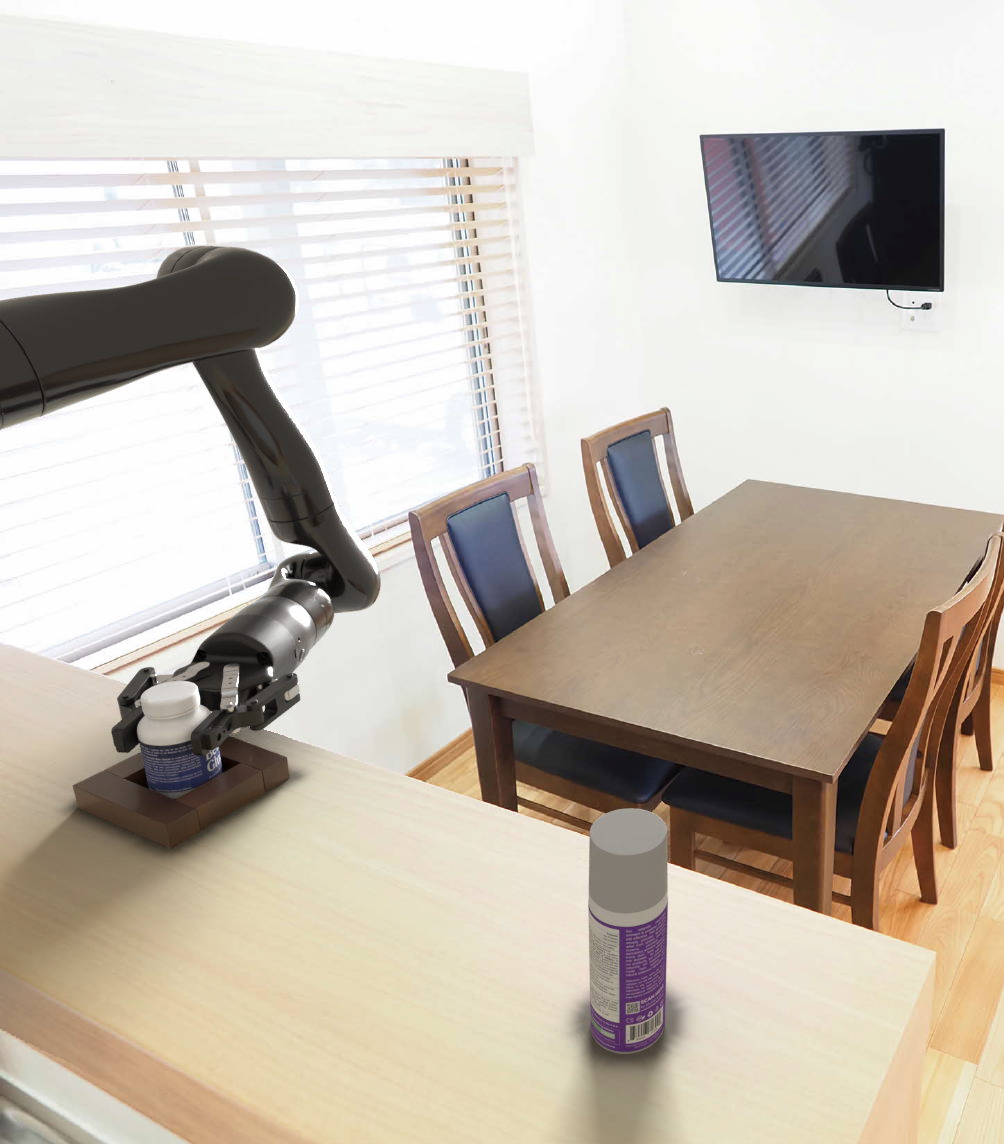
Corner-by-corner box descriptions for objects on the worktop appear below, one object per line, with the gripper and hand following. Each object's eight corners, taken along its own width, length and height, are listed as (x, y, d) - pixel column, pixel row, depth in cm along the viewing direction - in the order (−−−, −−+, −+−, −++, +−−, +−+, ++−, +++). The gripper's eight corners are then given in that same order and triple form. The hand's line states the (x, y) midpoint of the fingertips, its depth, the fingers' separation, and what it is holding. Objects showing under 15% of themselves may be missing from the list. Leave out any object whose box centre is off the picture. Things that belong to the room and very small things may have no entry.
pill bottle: (228, 803, 80) (209, 699, 77) (152, 821, 78) (129, 715, 74) (223, 770, 84) (205, 670, 81) (151, 786, 82) (129, 684, 78)
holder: (172, 852, 74) (166, 825, 73) (78, 811, 78) (72, 785, 77) (290, 781, 84) (287, 756, 83) (201, 747, 88) (197, 723, 87)
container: (667, 999, 63) (671, 807, 58) (662, 1059, 59) (666, 858, 54) (595, 998, 63) (593, 805, 58) (585, 1058, 59) (581, 856, 53)
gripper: (175, 609, 90) (54, 699, 75) (331, 616, 91) (243, 706, 75) (188, 680, 93) (74, 781, 77) (339, 686, 93) (257, 788, 78)
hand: (158, 744), depth 76 cm, fingers closed on pill bottle, 5 cm apart
